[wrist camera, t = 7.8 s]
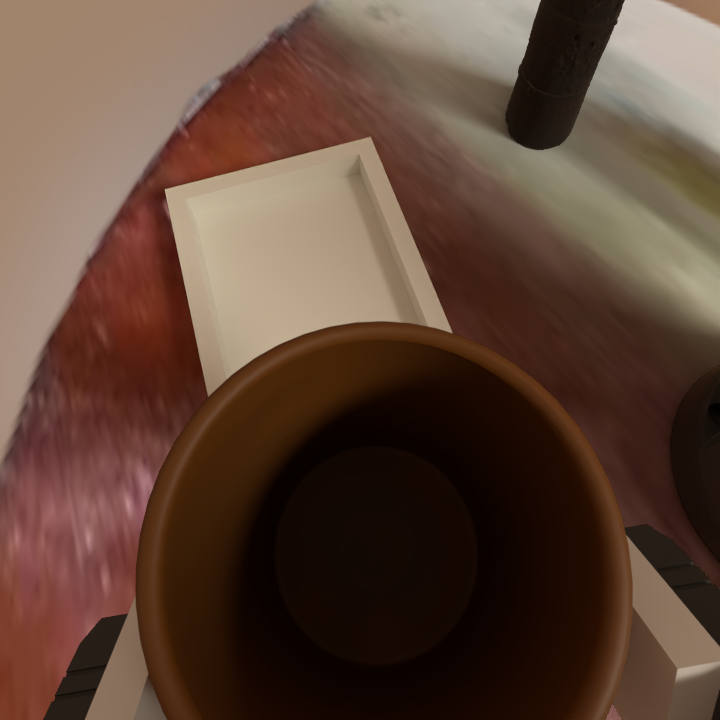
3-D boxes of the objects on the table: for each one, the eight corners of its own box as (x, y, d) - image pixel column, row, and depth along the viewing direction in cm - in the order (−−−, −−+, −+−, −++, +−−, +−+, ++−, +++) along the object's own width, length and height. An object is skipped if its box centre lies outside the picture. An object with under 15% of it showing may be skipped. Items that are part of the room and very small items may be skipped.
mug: (430, 918, 12) (576, 1815, 4) (163, 808, 13) (-237, 1304, 5) (510, 467, 17) (666, 372, 8) (304, 408, 17) (237, 265, 9)
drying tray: (370, 166, 36) (370, 136, 33) (461, 391, 29) (471, 376, 27) (180, 216, 34) (164, 189, 32) (234, 462, 28) (220, 454, 25)
